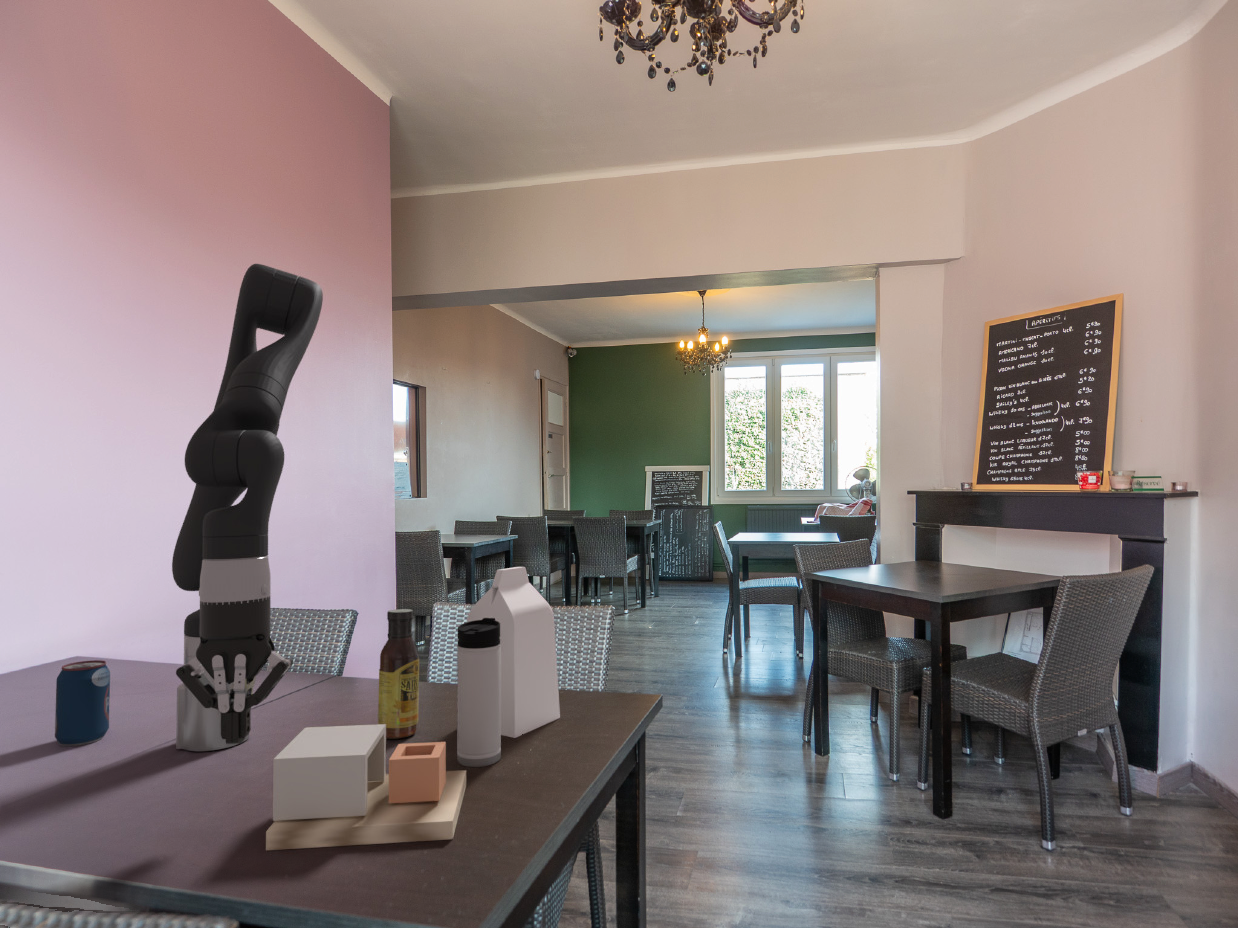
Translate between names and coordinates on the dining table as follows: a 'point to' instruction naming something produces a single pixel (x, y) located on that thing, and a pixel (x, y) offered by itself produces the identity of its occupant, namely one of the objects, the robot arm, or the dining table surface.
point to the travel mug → (479, 693)
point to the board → (377, 820)
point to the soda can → (82, 703)
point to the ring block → (417, 772)
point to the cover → (328, 771)
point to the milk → (522, 651)
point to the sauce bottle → (399, 677)
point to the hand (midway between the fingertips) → (235, 741)
